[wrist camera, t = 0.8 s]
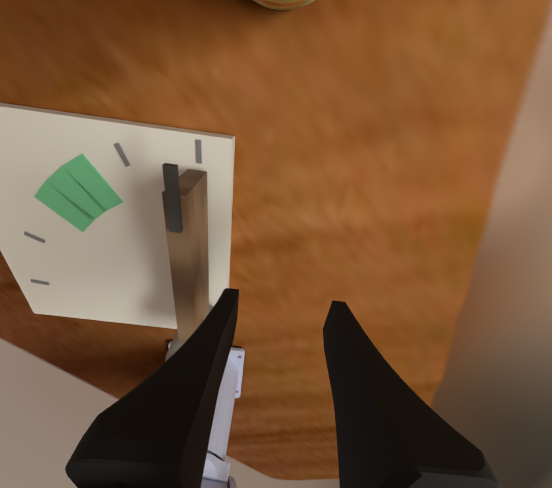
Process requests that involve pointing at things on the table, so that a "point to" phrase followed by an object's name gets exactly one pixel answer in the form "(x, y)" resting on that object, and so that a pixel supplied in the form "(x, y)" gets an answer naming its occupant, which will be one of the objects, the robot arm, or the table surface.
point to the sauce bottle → (283, 4)
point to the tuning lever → (187, 248)
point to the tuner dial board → (103, 212)
